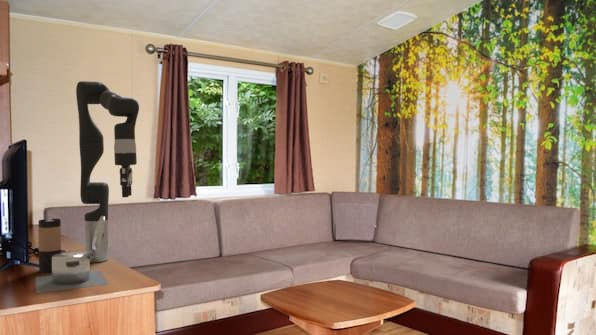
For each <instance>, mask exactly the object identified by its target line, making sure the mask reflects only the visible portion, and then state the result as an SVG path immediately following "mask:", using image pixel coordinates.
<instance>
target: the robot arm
mask: <svg viewBox="0 0 596 335" xmlns="http://www.w3.org/2000/svg"><path fill="white" fill-rule="evenodd" d="M75 92H76V94H75V96H76V104H77V110H78V111H77V112H78V124H79V125H78V127H79V128H78V130H79V135H78V136H79V141H78V142H79V155H80V189H79V190H80V192H79V193H80V196H79V197H80V200H81V203H82V204H84V205H99V207H97V208H96V209H94V210H92V211H89V212H86V213H85V214H84V252H87V253H89V254H91V253H90V250H92V243H93V238H94V234H95V230H96V227H97V224H98V221H99V219H100V217H101V216H105V227H104V232H103V233H104V236H103V237H102V239H101V242H100V245H99V247H98V250H97V251H96V252H94V253H95V254H94V255H93V259H90V263H101V262H105V261H108V260H109V201H110V200H109V197H110V195H109V194H110V186H109V185H108V183H107V182H101V181H99V182H97V181H96V182H95V181H93V182H91V181H90V180H91V175H92V173H93V170H94V168H95V167H96V165H97V164H98V162H99V161H100V159H101V158H102V156H103V154H104V150H105V149H104V148H105V147H104V145H105V144H104V135H103V133H102V131H101V130H100V128H99V127H98V125H97V124H96V123H95V121H94V119H93V118H92V116H91V113H90V110H89V105H101V106H102V107H103V109H105V110H106V111H107V110H108V113H109V115H110V116H113V117H118V118H119V117H121V118H122V117H125V118H126V119H125V121H124V122H119V123H115V125H114V128H113V131H114V132H113V133H114V134H113V135H114V142H113V143H114V145H113V150H114V152H113V153H114V157H113V158H114V165H115V166H121V167H120V168H119V181H120V182H119V185H120V187H121V197H122V198H129V197H130V196H132V193H133V192H132V185H133V168H132V167H131V166H135V165H137V145H136V132H135V130H136V123H137V118H138V116H139V111H140V104H139V102H138V100H137V99H136V98H134V97H126V96H125V97H124V96H121V95H120V94H118V93H116V92H114V91H112V90H111V89H110V88H108V86H107V85H106V84H104V83H102V82H101V81H89V80H88V81H85V80H83V81H82V80H81V81H78V82H77V84H76V88H75Z"/></svg>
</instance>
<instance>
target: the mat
mask: <svg viewBox="0 0 596 335" xmlns="http://www.w3.org/2000/svg"><path fill="white" fill-rule="evenodd" d="M34 279H35V280H34V281H35V294H38V293H48V292H56V291H65V290H73V289H81V288H89V287H96V286H106V285H107V286H108V285H109V282H108V281H107V278H106V277H105V275H104V274H103V272H102V270H101V269H98V270H90V279H89V280H88V281H86V282H83V283H80V284H74V285H55V284H53V283H52V274H50V275H44V276H36V277H35V278H34Z"/></svg>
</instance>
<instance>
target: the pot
mask: <svg viewBox="0 0 596 335" xmlns="http://www.w3.org/2000/svg"><path fill="white" fill-rule="evenodd" d="M90 259H93V255H91V254H89V253H87V252H85V251H69V252H61V253H60V254H56V255H53V256H52V273H51V275H52V283H53V284H55V285H74V284H80V283H83V282H86V281H88V280H89V279H90V271H91V270H90V263H91V262H90Z"/></svg>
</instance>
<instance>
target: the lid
mask: <svg viewBox="0 0 596 335" xmlns="http://www.w3.org/2000/svg"><path fill="white" fill-rule="evenodd" d="M104 227H105V216H101V217H100V219H99V221H98V224H97V227H96V230H95V234H94V238H93V243H92V250H90V253H91V255H94V254H95V253H94V252H96V251H97V250H98V247H99V245H100V242H101V239H102V237H103V236H104V233H103V232H104Z"/></svg>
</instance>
